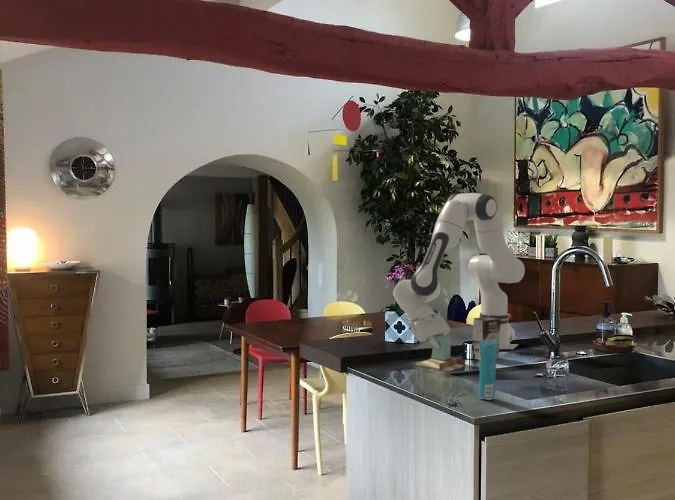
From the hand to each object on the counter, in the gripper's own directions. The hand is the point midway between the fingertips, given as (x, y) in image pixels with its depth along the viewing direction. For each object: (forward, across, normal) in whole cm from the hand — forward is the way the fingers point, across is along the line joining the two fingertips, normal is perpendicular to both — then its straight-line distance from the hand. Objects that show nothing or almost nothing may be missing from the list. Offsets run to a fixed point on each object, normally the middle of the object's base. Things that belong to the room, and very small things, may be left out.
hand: (443, 346), depth 270 cm
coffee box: (+10, +23, +1) cm, 25 cm away
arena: (+5, 0, +6) cm, 8 cm away
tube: (+28, -29, -17) cm, 44 cm away
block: (+3, 0, +4) cm, 5 cm away
